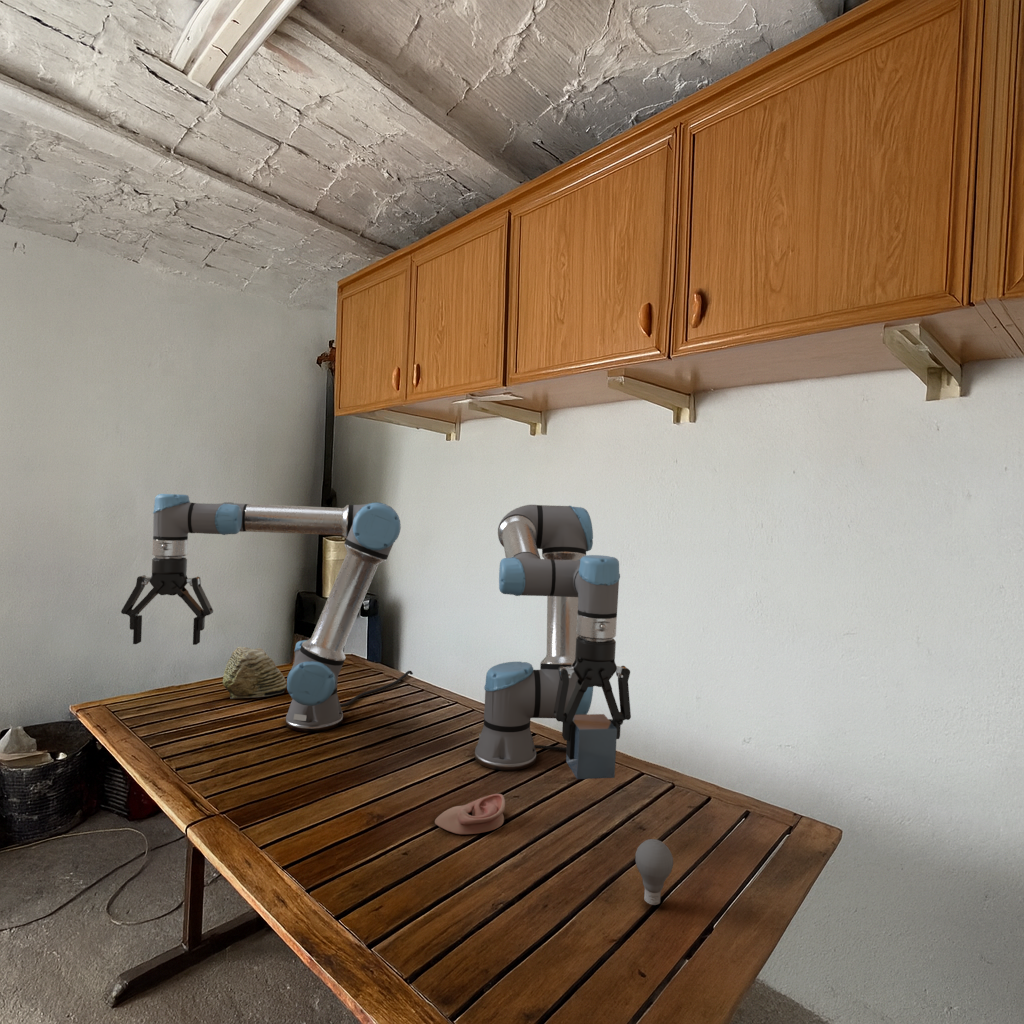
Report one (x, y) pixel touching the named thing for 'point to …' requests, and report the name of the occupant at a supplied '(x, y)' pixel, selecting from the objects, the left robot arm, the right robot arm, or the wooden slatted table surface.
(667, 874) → the light bulb
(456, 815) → the anatomical model
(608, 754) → the brick
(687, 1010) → the wooden slatted table surface
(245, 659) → the fossil
